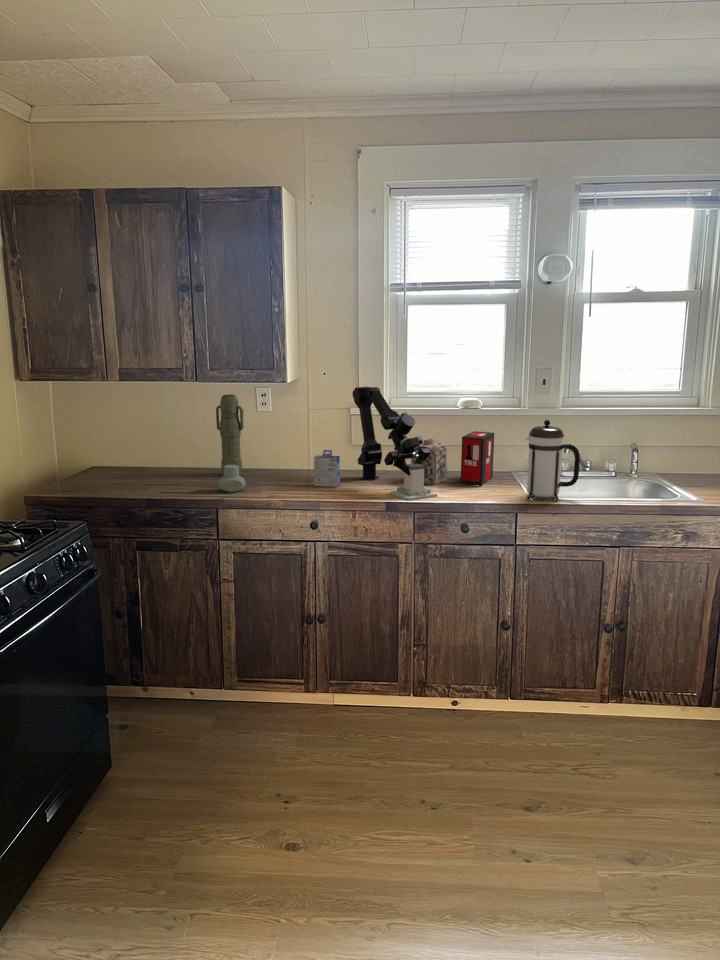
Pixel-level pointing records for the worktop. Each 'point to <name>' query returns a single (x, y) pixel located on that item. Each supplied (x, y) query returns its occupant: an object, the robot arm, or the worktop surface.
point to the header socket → (413, 494)
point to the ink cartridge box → (327, 470)
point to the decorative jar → (433, 462)
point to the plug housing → (414, 478)
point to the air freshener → (231, 479)
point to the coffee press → (547, 461)
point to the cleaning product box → (477, 458)
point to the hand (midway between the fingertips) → (415, 474)
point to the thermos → (230, 431)
